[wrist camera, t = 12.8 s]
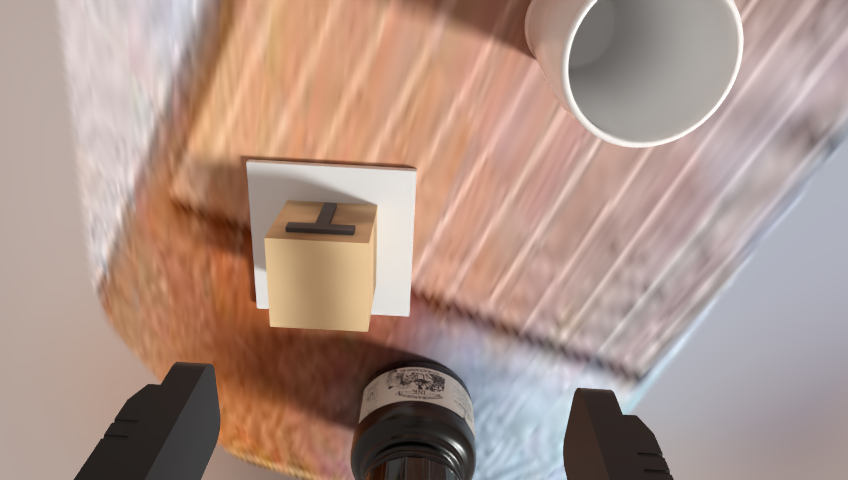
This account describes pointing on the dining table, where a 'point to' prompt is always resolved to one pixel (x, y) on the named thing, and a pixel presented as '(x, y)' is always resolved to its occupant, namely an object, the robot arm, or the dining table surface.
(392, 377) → the ink bottle
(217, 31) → the dining table surface
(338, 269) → the lettered block
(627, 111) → the white cup
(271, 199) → the white mat
